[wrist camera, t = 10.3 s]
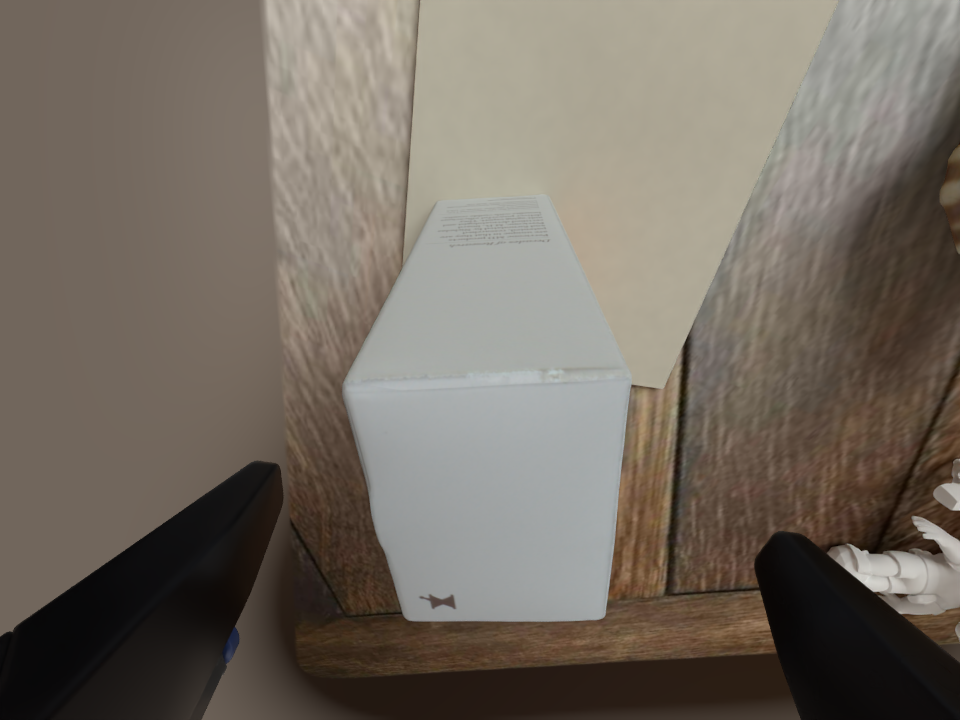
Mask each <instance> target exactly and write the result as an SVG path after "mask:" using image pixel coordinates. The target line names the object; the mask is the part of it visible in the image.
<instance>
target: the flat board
mask: <svg viewBox="0 0 960 720" xmlns="http://www.w3.org/2000/svg"><path fill="white" fill-rule="evenodd" d="M838 2H839V0H420V6H419V21H418V36H417V52H416V67H415V82H414V97H413V113H412V128H411V143H410V158H409V173H408V189H407V204H406V219H405V234H404V250H403V265H402V268H403V266H404V264H405V262H406V259H407V258H408V256H409V254H410V252H411V250H412V248H413V246H414V244H415V242H416V240H417V238H418V237H419V235H420V233H421V231H422V229H423V227H424V225H425V223H426V221H427V219H428V217H429V215H430V213H431V211H432V209H433V207H434V205H435V203H436V202H437V201H441V200H456V199H474V198H491V197H514V196H528V195H538V194H545V195H548V196H549V197H550V199H551V201H552V203H553V205H554V207H555V209H556V212H557V214H558V216H559V218H560V220H561V222H562V225H563V227H564V229H565V231H566V233H567V235H568V237H569V240H570V242H571V244H572V246H573V248H574V250H575V253H576V255H577V257H578V259H579V261H580V263H581V266H582V268H583V270H584V272H585V274H586V277H587V279H588V281H589V283H590V286H591V288H592V290H593V292H594V294H595V296H596V299H597V301H598V303H599V305H600V308H601V310H602V312H603V314H604V317H605V319H606V321H607V323H608V325H609V327H610V329H611V331H612V333H613V335H614V338H615V340H616V342H617V344H618V346H619V349H620V351H621V353H622V355H623V357H624V359H625V361H626V364H627V366H628V368H629V370H630V371H631V374H632V384H631V385H638V386H644V387H651V388H658V389H664V386H665V384H666V382H667V380H668V378H669V375H670V373H671V371H672V369H673V367H674V364H675V362H676V360H677V358H678V356H679V353H680V351H681V349H682V347H683V344H684V342H685V340H686V338H687V336H688V333H689V331H690V329H691V327H692V325H693V322H694V320H695V318H696V316H697V313H698V311H699V309H700V307H701V305H702V302H703V300H704V298H705V296H706V294H707V291H708V289H709V287H710V285H711V283H712V280H713V278H714V276H715V274H716V271H717V269H718V267H719V265H720V263H721V260H722V258H723V256H724V254H725V252H726V249H727V247H728V245H729V243H730V241H731V238H732V236H733V234H734V232H735V229H736V227H737V225H738V223H739V221H740V218H741V216H742V214H743V212H744V210H745V207H746V205H747V203H748V201H749V199H750V196H751V194H752V192H753V190H754V187H755V185H756V183H757V181H758V179H759V176H760V174H761V172H762V170H763V168H764V165H765V163H766V161H767V159H768V157H769V154H770V152H771V150H772V148H773V145H774V143H775V141H776V139H777V137H778V134H779V132H780V130H781V128H782V126H783V123H784V121H785V119H786V117H787V114H788V112H789V110H790V108H791V106H792V103H793V101H794V99H795V97H796V95H797V92H798V90H799V88H800V86H801V84H802V81H803V79H804V77H805V75H806V72H807V70H808V68H809V66H810V64H811V61H812V59H813V57H814V55H815V53H816V50H817V48H818V46H819V44H820V42H821V39H822V37H823V35H824V33H825V30H826V28H827V26H828V24H829V22H830V19H831V17H832V15H833V13H834V11H835V8H836V6H837V4H838Z"/></svg>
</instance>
